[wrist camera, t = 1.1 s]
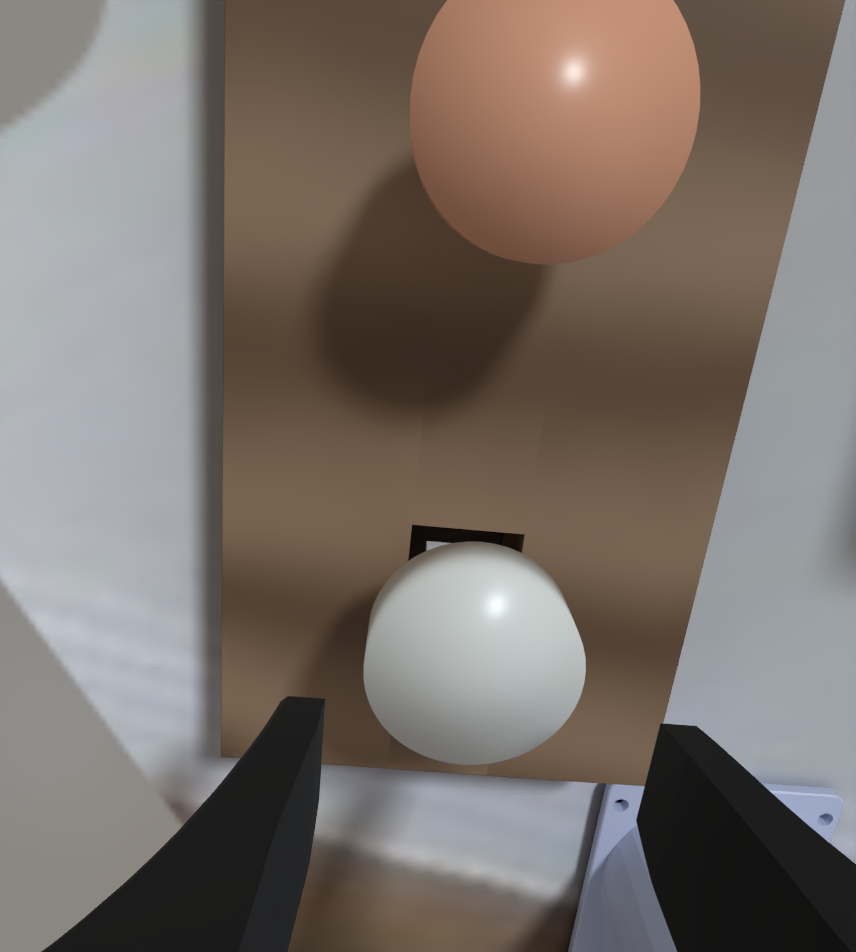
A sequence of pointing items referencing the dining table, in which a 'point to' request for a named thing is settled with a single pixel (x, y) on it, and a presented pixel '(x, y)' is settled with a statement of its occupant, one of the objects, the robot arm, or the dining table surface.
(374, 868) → the dining table surface
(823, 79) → the board
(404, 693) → the white egg
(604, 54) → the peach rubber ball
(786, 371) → the dining table surface
